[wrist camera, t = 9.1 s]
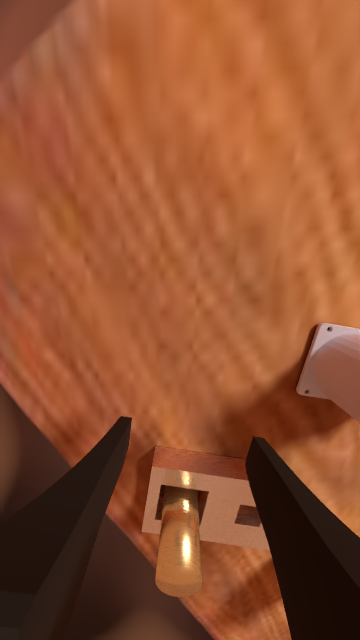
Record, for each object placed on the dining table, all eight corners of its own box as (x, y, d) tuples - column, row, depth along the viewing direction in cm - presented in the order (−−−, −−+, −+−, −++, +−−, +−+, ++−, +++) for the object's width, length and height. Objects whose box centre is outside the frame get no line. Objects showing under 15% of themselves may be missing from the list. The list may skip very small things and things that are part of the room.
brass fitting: (194, 467, 23) (199, 564, 15) (198, 491, 24) (205, 595, 16) (162, 470, 23) (151, 567, 15) (168, 494, 24) (159, 598, 16)
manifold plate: (285, 465, 23) (297, 487, 20) (263, 523, 25) (272, 550, 22) (155, 445, 22) (152, 466, 20) (145, 506, 25) (141, 531, 22)
